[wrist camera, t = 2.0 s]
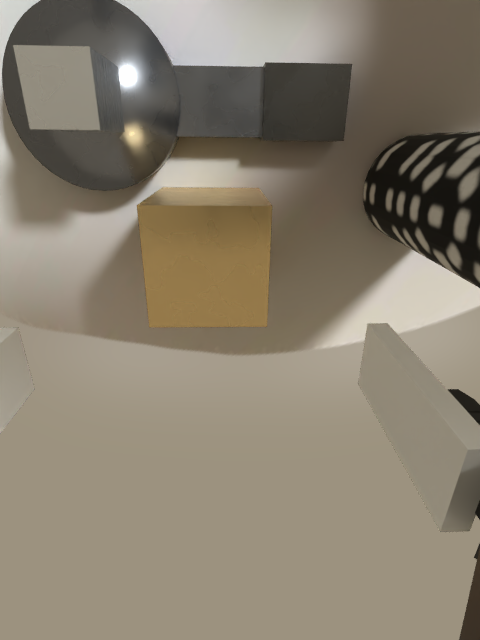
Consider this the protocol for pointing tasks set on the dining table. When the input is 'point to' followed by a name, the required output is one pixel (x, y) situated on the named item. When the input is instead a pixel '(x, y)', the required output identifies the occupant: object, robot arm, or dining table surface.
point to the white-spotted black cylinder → (430, 198)
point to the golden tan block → (206, 256)
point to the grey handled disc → (146, 95)
